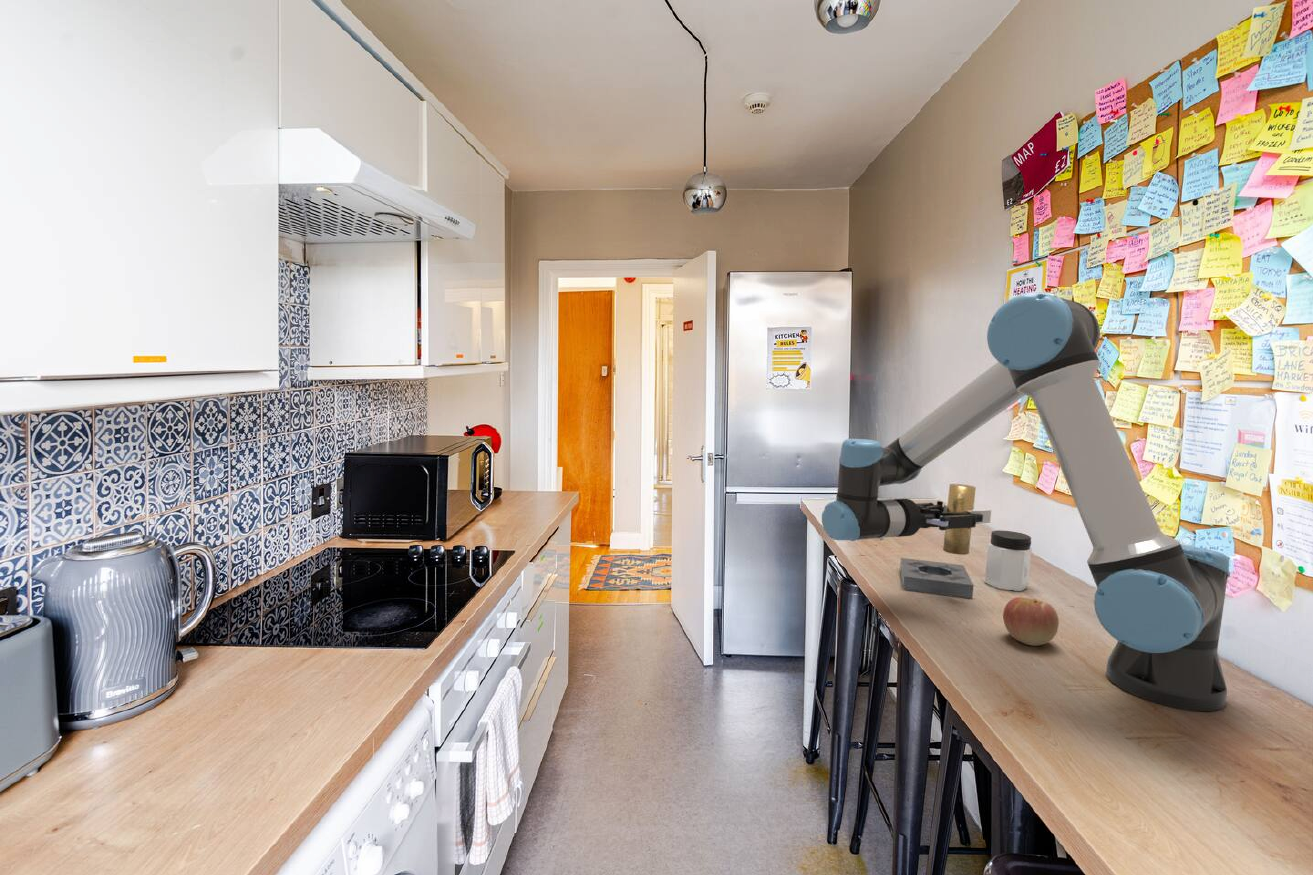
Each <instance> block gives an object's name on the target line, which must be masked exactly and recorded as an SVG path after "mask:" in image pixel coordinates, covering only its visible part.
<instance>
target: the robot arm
mask: <svg viewBox="0 0 1313 875" xmlns="http://www.w3.org/2000/svg"><path fill="white" fill-rule="evenodd" d="M1099 324H1100V323H1099V322H1098V319H1097V317H1096V315H1095V314H1094V313H1093V312H1092V310H1091V309H1089V308H1088V307H1087V306H1086V305H1084V304H1082V303H1080V302H1078V301H1074V300H1072V299H1071V300H1070V299H1066V298H1062V297H1060V296H1058V295H1056V294H1054V293H1050V292H1042V291H1041V292H1029V293H1028V292H1027V293H1022V294H1019V295H1017V296H1015V297H1012V298H1010V299H1009V300H1007V301H1006V302H1005V303H1003V304H1002V305H1001V306H1000V307H999V308H997V311H995V313H994V314H993V316H992V318H991V321H990V323H989V325H988V328H987V333H986V341H987V342H986V343H987V346H988V349H989V352H990V353H991V355H992V357H993V358H994V359H995V360H996V361H997V362H996V363H994V364H993V365H992V366H990V367H989V368H988V369H987V370H985V371H984V372H983V373H982V374H979V376H977V377H976V378H974V379H973V380H972V381H970V383H968V384H966V386H964V387H963V388H961V389H960V390H959V391H958V392H956V393H955V394H953V396H951V397H950V398H948V399H947V400H946V401H944V402H942V404H941V405H939V406H937V408H935V409H934V410H932V412H930V413H929V414H928V415H926V416H925V417H923V418H922V419H921V420H919V421H918V422H917V423H915V424H914V425H913V426H911V427H910V428H909V429H908V430H906V431H905V432H903V433H902V434H901V435H900V436H899V437H897V438H896V439H895V440H894V441H892V442H890V443H889V444H888V445H887V446H885V447H883V446H882V443H881V442H880V441H877V440H874V439H866V438H863V439H862V438H848V439H845V440H844V441H842V444H841V448H840V456H839V457H838V458H839V465H838V477H837V478H838V480H837V494H836V500H834V501H830V502H829V503H827V504H826V505H825V506H824V510H823V511H822V513H821V524H822V528H823V530H824V532H825V534H826V535H827V536H828V537H829V538H831V539H832V540H835V541H851V542H856V541H859V540H861V541H862V540H869V539H873V540H874V539H878V540H879V541H883V540H884V538H896V537H897V538H901V537H902V538H903V537H911V536H914V535H916V534H917V532H919V530H920V529H929V528H938V529H939V530H940V531H945V530H947V529H957V528H968V529H970V528H971V529H972V528H973V529H974V528H976V525H978V524H989V523H991V516H992V509H973V510H970V511H966V512H947V506H948V504H944V502H943V501H940V500H936V504H934V503H933V502H922V503H920V502H919V503H916V502H915V501H913V500H912V499H910V498H893V499H892V498H886V499H878V497H879V487H881V486H882V487H883V486H889V485H896V484H897V485H901V484H905V483H907V482H909V481H913V480H914V479H916V478H917V477H918V476H919V475H920V473H921V470H922V469H923V468H924V467H925V466H927V465H928V464H929V463H931V462H933V461H934V460H936V459H937V458H938V457H939V456H942V455H943V453H945V452H947V451H948V450H949V449H951V448H953V447H954V446H955V445H957V444H958V443H960V442H961V441H962V440H964V439H965V438H966V437H969V436H970V435H971V434H972V433H974V432H975V431H977V430H978V429H980V428H981V427H983V425H985V424H987V423H988V422H990V421H991V420H993V419H994V418H995V417H997V416H998V415H999V414H1001V413H1002V412H1004V411H1005V410H1007V409H1008V408H1009V407H1011V406H1013V405H1014V404H1015V403H1017V402H1018V401H1019V400H1021V399H1022V398H1024V397H1025V396H1027V397H1029V398H1031V399H1032V402H1033V404H1034V406H1035V409H1036V411H1037V415H1038V416H1039V419H1040V421H1041V423H1042V426H1043V429H1044V430H1045V434H1046V435H1047V438H1048V440H1049V443H1050V446H1051V448H1052V450H1053V452H1054V455H1055V458H1056V459H1057V462H1058V465H1059V468H1060V470H1061V473H1062V474H1063V477H1064V479H1065V482H1066V484H1067V487H1068V490H1069V491H1070V493H1071V496H1072V499H1073V501H1074V504H1075V506H1076V509H1077V511H1078V513H1079V516H1080V519H1081V520H1082V523H1083V525H1084V528H1085V531H1086V532H1087V535H1088V537H1089V540H1090V543H1091V545H1092V551H1091V553H1090V554H1089V556H1088V558H1087V561H1086V563H1087V566H1088V568H1089V570H1090V573H1091V575H1092V579H1093V581H1094V583H1095V585H1096V588H1097V589H1096V591H1095V593H1094V600H1093V602H1094V611H1095V615H1096V617H1097V619H1098V622H1099V623H1100V625H1101V626H1102V627H1103V629H1105V631H1106V632H1107V633H1108V634H1109V635H1110V636H1111V637H1112V638H1114V639H1115V640H1116V641H1117V643H1116V645H1115V646H1114V648H1113V650H1112V651H1111V654H1110V655H1109V656H1108V659H1107V662H1106V670H1105V675H1106V677H1107V679H1109V681H1110V682H1112V684H1114V685H1116V686H1117V687H1118V688H1120V689H1122V690H1123V691H1126V692H1127V693H1130V694H1132V695H1134V696H1137V697H1138V698H1139V697H1140V698H1142V699H1145V700H1147V701H1151V702H1153V703H1157V704H1160V705H1164V706H1168V707H1171V708H1172V707H1173V708H1177V709H1181V710H1189V711H1196V712H1198V711H1199V712H1212V711H1214V712H1215V711H1218V710H1221V709H1223V708H1224V707H1225V706H1226V701H1227V694H1228V690H1227V684H1226V681H1225V677H1224V673H1223V669H1222V665H1221V662H1220V658H1219V654H1218V653H1219V652H1218V650H1219V641H1220V640H1219V639H1220V636H1221V628H1222V619H1223V612H1224V604H1225V598H1226V591H1227V584H1228V578H1230V576H1231V573H1230V572H1231V571H1230V570H1229V569H1230V560H1229V558H1228V557H1227V555H1225V554H1224V553H1222V552H1219V551H1217V550H1216V551H1215V550H1212V549H1207V548H1203V547H1197V546H1192V545H1187V544H1182V543H1181V542H1180V540H1177V539H1175V538H1174V537H1171V536H1168V535H1167V534H1165V533H1164V532H1162V531H1161V528H1160V527H1159V524H1158V522H1157V519H1156V517H1155V515H1154V512H1153V510H1152V508H1151V506H1150V504H1149V501H1148V499H1147V496H1146V494H1145V491H1144V490H1143V487H1142V485H1141V482H1140V480H1139V478H1138V475H1137V474H1136V471H1135V469H1134V467H1133V464H1132V462H1131V460H1130V457H1129V455H1128V453H1127V451H1126V449H1125V447H1124V443H1123V441H1122V439H1121V437H1120V435H1119V433H1118V430H1117V428H1116V425H1115V423H1114V422H1113V419H1112V416H1111V414H1110V412H1109V409H1108V408H1107V406H1106V403H1105V401H1104V398H1103V396H1102V393H1101V391H1100V390H1099V387H1098V384H1097V382H1096V380H1095V375H1096V373H1097V370H1098V368H1099V366H1100V364H1101V361H1100V359H1099V357H1098V355H1097V353H1096V349H1097V348H1098V345H1099V342H1100V339H1101V338H1100V336H1101V331H1100V330H1101V329H1100V325H1099Z"/></svg>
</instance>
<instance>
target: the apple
mask: <svg viewBox="0 0 1313 875" xmlns="http://www.w3.org/2000/svg"><path fill="white" fill-rule="evenodd" d="M1003 609H1004V610H1003V611H1002V612H1003V614H1002V620H1003V624H1004V626H1005V629H1006V631H1007V632H1008V633H1009V635H1011V636H1012V637H1013V638H1014V639H1015V640H1016V641H1018V642H1020V643H1022V644H1025V645H1027V646H1037V647H1038V646H1042V645H1046V644H1048V643H1049V642H1051V641H1053V639H1054V638H1055V636H1056V635H1057V632H1058V630H1059V624H1060V622H1059V615H1058V613H1057V611H1056V609H1055V607H1053V606H1052V605H1051V604H1050V603H1049V602H1047V601H1044V600H1041V599H1038V598H1030V597H1021V596H1019V597H1014V598H1011V600H1009V601H1008V602H1007V603H1006V604H1005V607H1004V608H1003Z"/></svg>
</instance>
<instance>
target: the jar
mask: <svg viewBox="0 0 1313 875" xmlns="http://www.w3.org/2000/svg"><path fill="white" fill-rule="evenodd" d="M990 534H991V535H990V542H989V543H988V545H987V546H988V547H987V556H986V557H987V558H986V566H985V575H984V576H985V577H984V583H985V584H987V585H989V586H992V587H994V588H996V589H998V590H1003V591H1010V590H1014V591H1013V592H1019V591H1020V592H1023V591H1024V590H1025V589H1027V588H1028V586H1029V585H1028V584H1029V576H1030V569H1031V568H1030V567H1031V560H1032V559H1031V558H1032V548H1031V545H1032V537H1031V536H1030V535H1028V534H1025V533H1022V532H1018V531H1010V530H999V529H998V530H993V531H991V533H990Z"/></svg>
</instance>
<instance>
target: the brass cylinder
mask: <svg viewBox="0 0 1313 875" xmlns="http://www.w3.org/2000/svg"><path fill="white" fill-rule="evenodd" d="M975 498H976V486H974V485H969V484H963V483H961V484H960V483H950V484H949V488H948V498H947V505H948V506H947V512H966V511H970V510H975V509H974V507H975ZM971 536H972V528H970V529H968V528H957V529H947V530H944V536H943V537H944V538H943V547H942V548H943V549H942V550H943V551H944V552H946V553H948V554H952V555H961V556H962V555H963V556H966V555H969V553H970V545H971V544H970V543H971V538H972V537H971Z"/></svg>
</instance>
